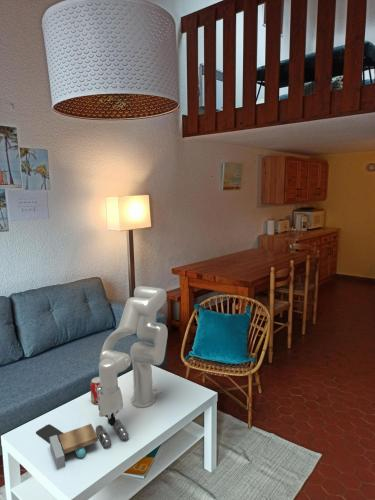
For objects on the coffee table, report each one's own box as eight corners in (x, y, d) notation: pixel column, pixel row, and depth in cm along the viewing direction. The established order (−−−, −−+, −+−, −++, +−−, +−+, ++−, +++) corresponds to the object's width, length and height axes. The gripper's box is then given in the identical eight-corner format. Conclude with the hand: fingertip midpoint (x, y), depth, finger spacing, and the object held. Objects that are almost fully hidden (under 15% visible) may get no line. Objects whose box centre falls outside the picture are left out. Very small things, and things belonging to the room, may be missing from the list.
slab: (91, 427, 161) (90, 423, 160) (98, 441, 152) (97, 436, 152) (58, 439, 154) (58, 435, 153) (64, 454, 145) (63, 449, 145)
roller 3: (119, 423, 170) (118, 416, 169) (130, 440, 158) (129, 433, 158) (111, 425, 168) (111, 418, 167) (122, 443, 157) (121, 436, 156)
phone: (49, 423, 169) (68, 436, 161) (49, 425, 170) (68, 437, 161) (34, 432, 164) (53, 445, 155) (34, 433, 164) (54, 447, 155)
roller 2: (102, 429, 166) (102, 422, 165) (112, 447, 154) (112, 440, 154) (94, 432, 164) (94, 425, 163) (104, 450, 153) (104, 443, 152)
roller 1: (87, 457, 149) (86, 449, 148) (78, 461, 147) (77, 453, 146) (78, 437, 160) (77, 430, 160) (70, 441, 158) (69, 434, 158)
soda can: (92, 406, 183) (91, 384, 180) (90, 398, 189) (89, 377, 187) (106, 402, 185) (105, 381, 183) (104, 395, 192) (102, 374, 189)
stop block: (57, 445, 156) (56, 434, 155) (65, 466, 144) (64, 455, 143) (50, 447, 154) (49, 437, 153) (57, 469, 143) (56, 458, 142)
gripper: (95, 397, 151) (98, 435, 154) (128, 386, 158) (130, 422, 162) (89, 388, 157) (92, 425, 161) (122, 378, 164) (124, 413, 168)
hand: (111, 424), depth 161 cm, fingers closed
